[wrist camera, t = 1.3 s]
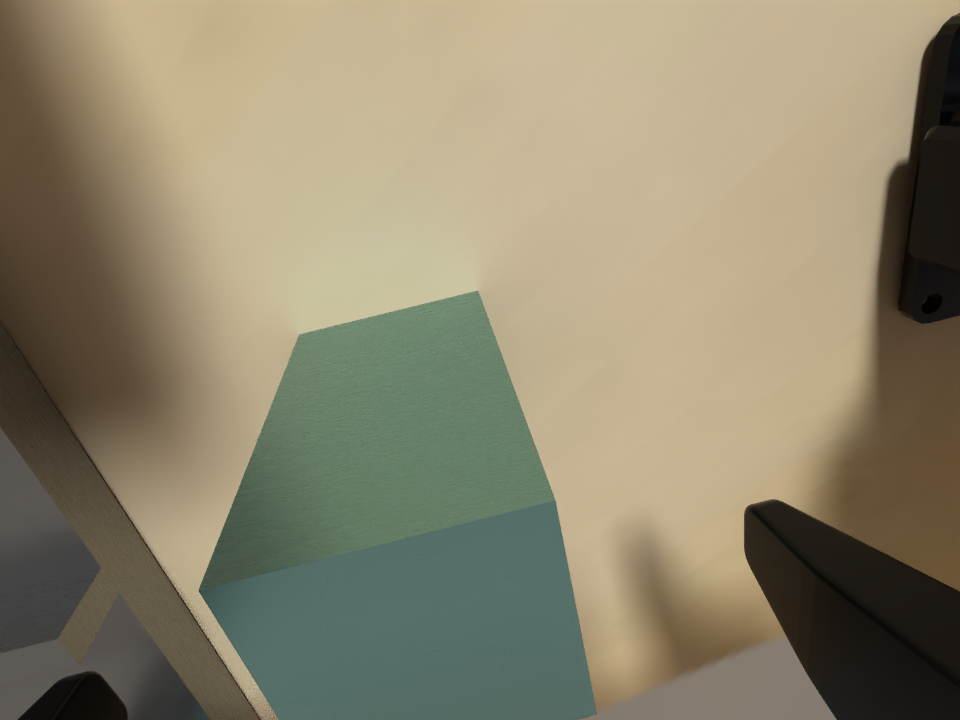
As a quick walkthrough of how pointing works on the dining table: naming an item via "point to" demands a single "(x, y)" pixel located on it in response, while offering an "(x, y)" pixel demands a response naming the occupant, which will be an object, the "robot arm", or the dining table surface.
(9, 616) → the rail
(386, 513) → the block
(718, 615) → the dining table surface
